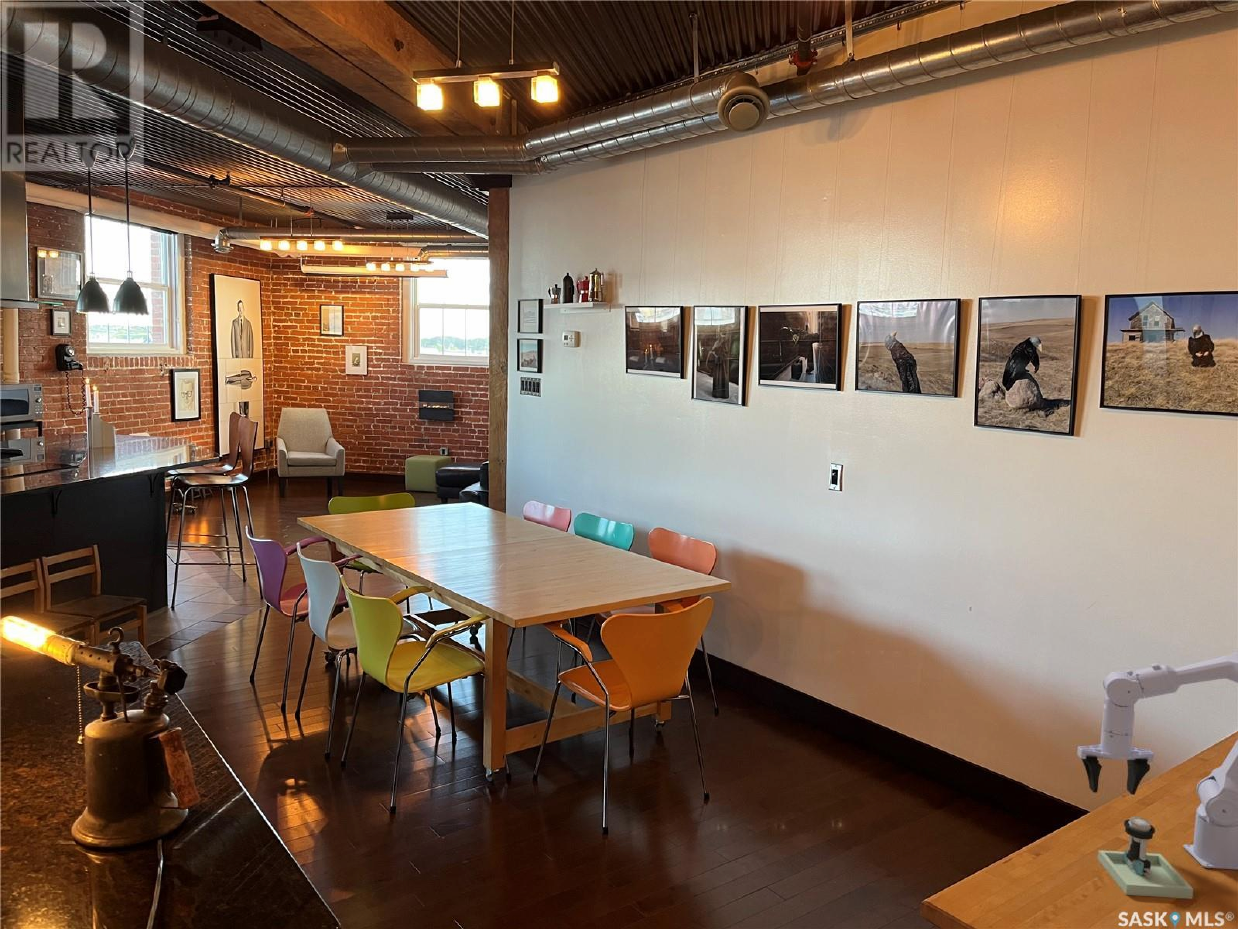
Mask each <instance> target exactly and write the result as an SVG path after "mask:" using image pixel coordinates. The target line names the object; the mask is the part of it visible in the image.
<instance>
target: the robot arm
mask: <svg viewBox="0 0 1238 929" xmlns="http://www.w3.org/2000/svg"><path fill="white" fill-rule="evenodd" d="M1150 665H1151V667H1150V666H1149V667H1144V668H1141V669H1140V668H1139V669H1135V670H1132V669H1131V668H1130V669H1126V670H1125V672H1122V671H1118V670H1117V671H1112V672H1109V673H1108V675H1106V677H1105V679H1104V680H1103V681H1102V685H1103V689H1104V690H1105V696H1104V700H1103V701H1104V702H1103V703H1104V705H1103V707H1102V708H1103V709H1102V719H1101V720H1102V721H1101V722H1102V723H1101V734H1100V744H1093V745H1082V746H1081V745H1080V746H1077V752H1076V754H1077V755H1076V756H1078V758H1080V759H1081V761H1082V764H1083V766H1084V769H1085V772H1086V774H1087V779H1088V780H1087V781H1088V784H1089V785H1088V787H1089V789H1090V790H1091V792H1092V793H1095V794H1097V793H1098V790H1099V778H1100V775H1101V774H1100V773H1101V770H1102V768H1103V766H1102V765H1101V764H1100V762H1099V760H1098V759H1103V760H1104V759H1105V760H1106V759H1107V760H1121V761H1122V760H1123V761H1127V762H1126V764H1127V779H1126V790H1127V792H1128V793H1129V794H1131V795H1133V796H1134V795H1136V792H1137V791H1138V790H1137V789H1138V787H1139V785H1140V783H1141V781H1142V780H1143V779H1144V776H1146V774H1148V772H1149V771H1150V769H1151V765H1150V764H1149V763H1153V762H1154V758H1155V757H1154V755H1155V754H1154V752H1152V751H1151V749H1143V748H1139V747H1138V748H1137V747H1133V738H1134V737H1133V736H1134V723H1135V715H1136V714H1135V704H1136V703H1137V702H1138V701H1139V700H1140V699H1141V700H1142V699H1147V698H1148V699H1149V698H1154V697H1159V696H1163V695H1169V694H1174V693H1177V691H1178V690H1179V689H1180V687H1181V686H1183V685H1189V684H1195V683H1203V682H1211V681H1216V680H1224V679H1225V680H1226V679H1227V680H1230V681H1232V682H1234V683H1237V684H1238V651H1234V652H1232V653H1229V654H1226V655H1223V656H1219V657H1215V658H1212V659H1207V660H1203V661H1198V662H1196V663H1191V664H1187V665H1184V666H1183V665H1182V666H1179V667H1175V668H1174V667H1172V666H1169V665H1168V664H1159V662H1155V663H1151V664H1150ZM1196 794H1197V796H1198V798H1199V800H1201V801H1200V802H1201V803H1199V805H1198V807H1197V808H1196V811H1195V812H1196V813H1195V822H1194V832H1193V833H1194V834H1193V842H1192V844H1183V848H1184V849H1185V850H1186V851H1187V852H1188V854H1190V855H1191V857H1193V858H1194V859H1195V861H1197V863H1199V864H1200V865H1201V866H1202V867H1203V868H1207V869H1224V870H1225V869H1226V870H1238V739H1237V740H1236V742H1235V743H1234V745H1233V747H1232V748H1231V750H1230V751H1229V753H1228V755H1227V756H1226V757H1225V759H1224V761H1223V762H1222V764H1221V766H1219V767H1216V768H1214V769H1213V770H1212V771H1211V773H1210V774H1209V775H1208V776H1206V777H1204V778H1203V779H1201V780H1200V781H1199V782H1198V783H1197V785H1196Z"/></svg>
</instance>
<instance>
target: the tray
mask: <svg viewBox="0 0 1238 929" xmlns="http://www.w3.org/2000/svg"><path fill="white" fill-rule="evenodd" d="M1124 853H1125V851H1117V850H1116V851H1115V850H1102V849H1100V850H1099V849H1098V852H1097V860H1098V862H1099V863H1100V864H1101V866H1102V867H1103V868H1104V869H1105V870H1106V872H1107V873H1108V874H1109V876H1111V878H1112V879H1113V881H1114V882H1115V883H1116V884H1117V885H1118V886H1119V888H1120V889H1121V890H1122V892H1123V893H1124V894H1125V895H1127V896H1128V895H1129V896H1142V897H1143V896H1144V897H1159V898H1172V899H1173V898H1174V899H1191V900H1192V899H1193V896H1194V888H1193V887H1192V885H1190V884H1189V882H1187V881H1186V880H1185V878H1184V877H1183V876H1181V874H1180V873H1179V872H1178V871H1177V870H1176V869H1175V868H1174V867H1173V866H1172V865H1171V864H1170V862H1169V861H1168V860H1166V858H1165V857H1164V856H1163V855H1162V854H1161V853H1151V852H1149V853H1148V852H1146V859H1147V860H1148V861H1150V863H1151V868H1150V871H1151V872H1153V874H1150V873H1149V874H1150V875H1151V876H1152V877H1153V878H1149V877H1150V876H1149V877H1147V876H1146V875H1139V874H1137V873H1136V872H1135V871H1134V870H1130V869H1129V868H1128V867H1127V865H1126V864H1125V863H1124Z"/></svg>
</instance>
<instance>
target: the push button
mask: <svg viewBox="0 0 1238 929" xmlns="http://www.w3.org/2000/svg"><path fill="white" fill-rule="evenodd" d="M1123 826H1124V828H1125V830H1124V832H1125V833H1126V834H1127V835H1129V841H1128V842H1129V843H1128V844H1129V845H1128V848H1127V849H1128V850H1124V852H1125V853H1124V863H1125V864H1126V865H1127V867H1128V868H1129V869H1130V870H1134V871H1135V872H1136V873H1137V874H1139V875H1146V876H1147V877H1149V876H1150V877H1149V878H1153V877H1152V876H1151V875H1150V874H1153V872H1151V871H1150V868H1151V863H1150V861H1148V860H1147V859H1146V853H1147V845H1148V840H1152V839H1153V837H1154V836H1153V835H1154V834H1155V833H1156V829H1155V827H1154V826H1153V825H1152V824H1151V822H1150V821H1149V820H1147V819H1145V818H1143V817H1139V816H1131V817H1130V818H1129V819H1126V820H1124V821H1123ZM1149 873H1150V874H1149Z"/></svg>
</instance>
